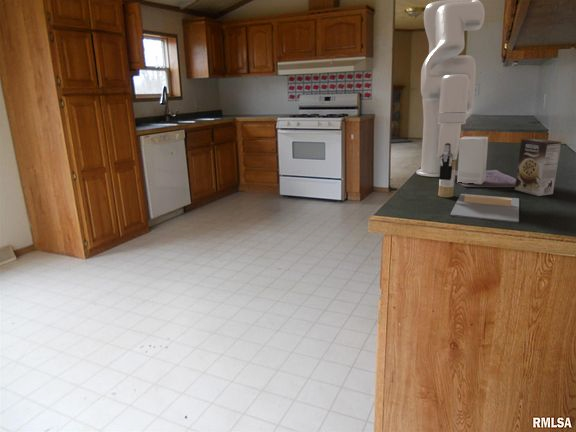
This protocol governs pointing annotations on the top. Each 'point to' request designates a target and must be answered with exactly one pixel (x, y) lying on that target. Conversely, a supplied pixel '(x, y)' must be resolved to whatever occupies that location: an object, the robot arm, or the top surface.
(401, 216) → the top surface
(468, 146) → the skincare box
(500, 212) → the mat
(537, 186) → the coffee box
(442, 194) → the sprinkles bottle
